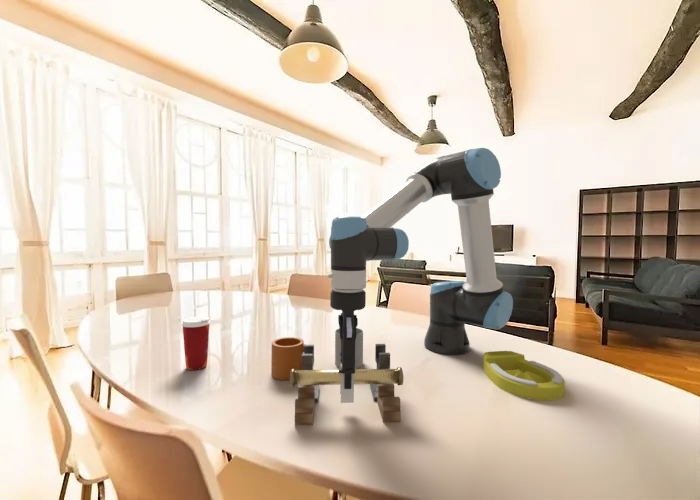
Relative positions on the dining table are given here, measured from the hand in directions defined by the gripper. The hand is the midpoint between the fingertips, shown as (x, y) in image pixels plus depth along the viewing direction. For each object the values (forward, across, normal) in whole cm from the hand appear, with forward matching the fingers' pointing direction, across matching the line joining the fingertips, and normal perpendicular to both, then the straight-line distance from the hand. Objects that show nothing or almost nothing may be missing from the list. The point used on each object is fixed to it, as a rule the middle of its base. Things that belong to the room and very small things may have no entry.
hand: (346, 397), depth 69 cm
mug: (+4, -21, -14) cm, 25 cm away
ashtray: (+4, -13, +47) cm, 49 cm away
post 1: (+4, -9, -9) cm, 13 cm away
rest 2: (+4, 0, +9) cm, 10 cm away
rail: (-3, 0, 0) cm, 3 cm away
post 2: (+4, -9, +9) cm, 13 cm away
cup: (+4, -28, +2) cm, 28 cm away
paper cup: (+4, -28, -43) cm, 51 cm away
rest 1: (+4, 0, -9) cm, 10 cm away
